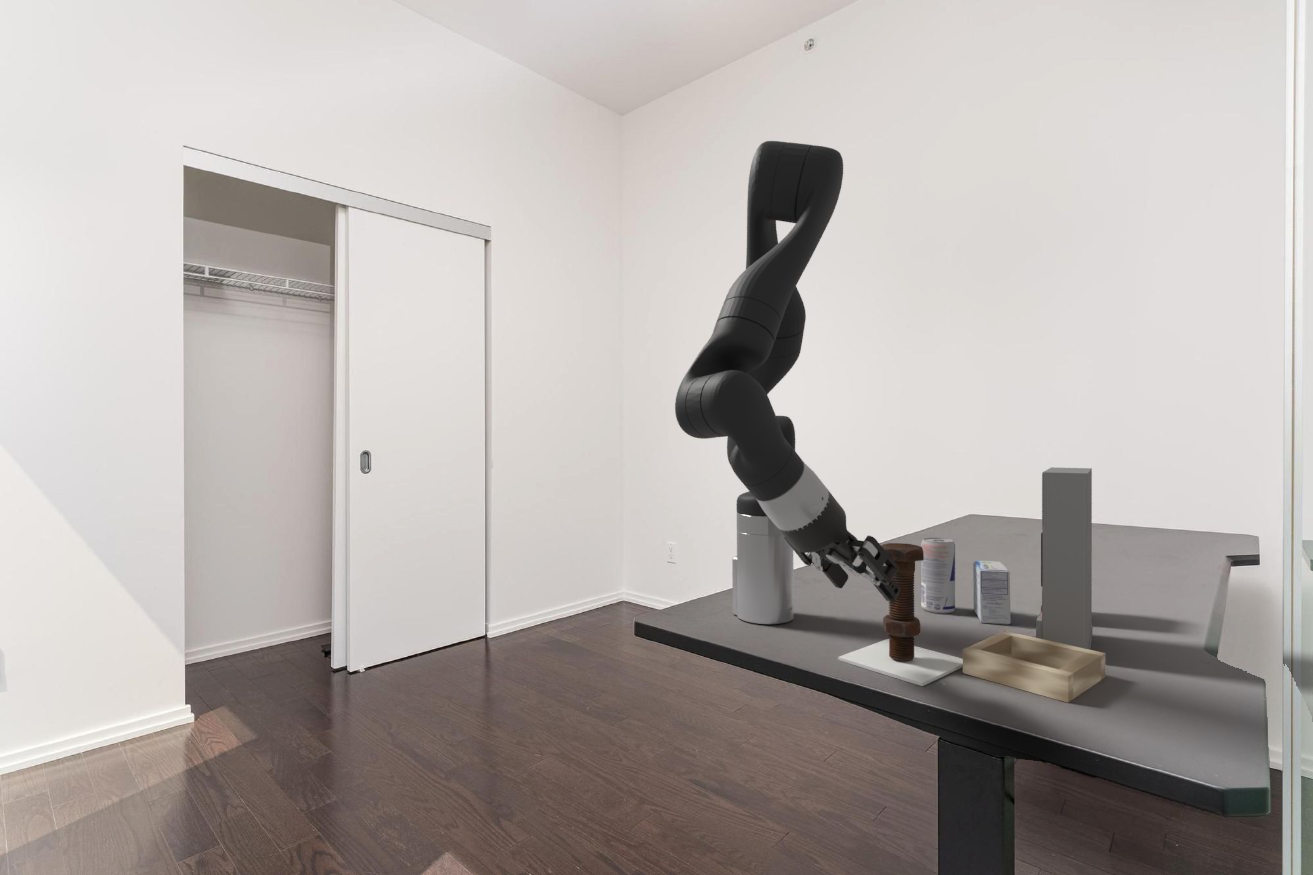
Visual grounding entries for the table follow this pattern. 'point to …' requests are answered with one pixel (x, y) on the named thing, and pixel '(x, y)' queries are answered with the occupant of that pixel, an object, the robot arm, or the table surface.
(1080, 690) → the wooden frame
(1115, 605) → the table surface
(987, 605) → the medicine box
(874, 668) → the pad
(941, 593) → the energy drink
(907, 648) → the bolt
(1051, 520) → the cassette tape recorder
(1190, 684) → the table surface
